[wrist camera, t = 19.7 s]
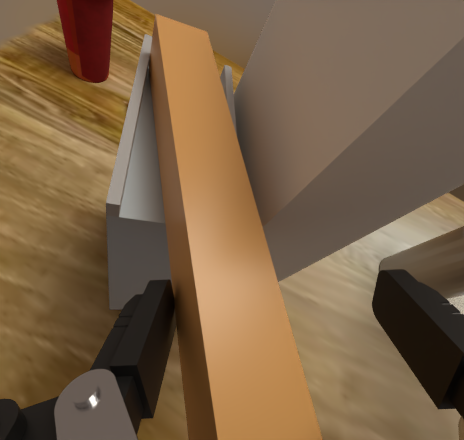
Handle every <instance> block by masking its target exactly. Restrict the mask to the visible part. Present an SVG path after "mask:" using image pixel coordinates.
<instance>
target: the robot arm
mask: <svg viewBox="0 0 464 440" xmlns="http://www.w3.org/2000/svg"><path fill="white" fill-rule="evenodd" d="M462 295H464V226H463V227H460V228H458V229H456V230H453V231H451V232H448V233H446V234H443V235H441V236H438V237H436V238H434V239H431V240H429V241H426V242H424V243H421V244H419V245H416V246H414V247H411V248H409V249H407V250H404V251H402V252H399V253H397V254H394V255H392V256H389V257H387V258H384V259H383V260H382V262H381V264H380V272H379V274H378V278H377V282H376V287H375V291H374V296H373V301H372V308H373V312H374V315H375V317H376V319H377V320H378V322H379V323H380V325H381V326H382V328H383V329H384V331H385V332H386V334H387V335H388V336H389V338H390V339H391V341H392V342H393V344H394V345H395V347H396V348H397V350H398V351H399V353H400V354H401V355H402V357H403V358H404V360H405V361H406V363H407V364H408V366H409V367H410V369H411V370H412V372H413V373H414V374H415V376H416V377H417V379H418V380H419V382H420V383H421V385H422V386H423V388H424V389H425V391H426V392H427V393H428V395H429V396H430V398H431V399H432V401H433V402H434V404H435V405H436V407H437V408H438V409H456V410H457V411H458V412H459V414H460V415H461V418H460V420H459V424H458V427H459V440H464V315H463V314H460V311H459V310H458V309H457V308H455V307H454V306H453V305H450V303H449V301H448V300H447V299H448V298H452V297H457V296H462ZM175 328H176V316H175V302H174V294H173V288H172V283H171V280H170V279H167V280H150V281H149V282H148V284H147V286H146V289H145V291H144V293H143V294H136V295H135V296H133V297H132V298H131V299H130V300H129V301H128V302H127V303H126V304H125V305H124V307H123V309H122V311H121V313H120V315H119V318H118V319H117V320H116V322H115V324H114V328H113V329H112V330H111V332H110V334H109V335H108V337H107V339H106V341H105V343H104V345H103V347H102V349H101V350H100V352H99V354H98V356H97V358H96V360H95V362H94V364H93V365H92V367H91V369H90V371H88V372H86V373H84V374H82V375H80V376H79V377H77V378H76V379H74V380H73V381H72V382H71V383H70V384H69V385H68V386H67V387H66V388H65V389H64V390H63V391H62V393H61V394H60V396H58V397H56V398H53V399H50V400H47V401H44V402H42V403H39V404H36V405H33V406H30V407H27V408H24V409H20V408H19V406H18V405H17V403H16V402H15V401H13V400H11V399H0V440H138V438H137V432H138V429H139V425H140V422H141V419H146V418H153V417H154V412H155V408H156V404H157V400H158V396H159V392H160V388H161V384H162V380H163V376H164V372H165V368H166V364H167V360H168V356H169V352H170V348H171V344H172V340H173V336H174V332H175Z"/></svg>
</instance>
